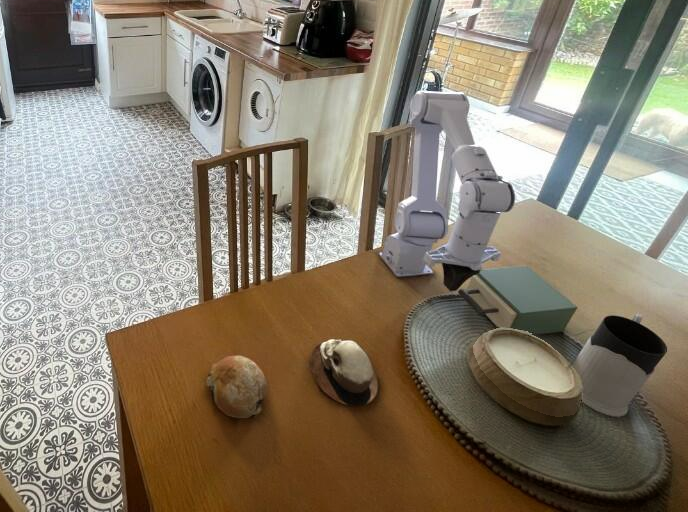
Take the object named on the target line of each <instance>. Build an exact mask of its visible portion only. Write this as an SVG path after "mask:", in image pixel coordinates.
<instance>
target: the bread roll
mask: <svg viewBox="0 0 688 512" xmlns="http://www.w3.org/2000/svg"><path fill="white" fill-rule="evenodd" d="M211 366H212V367H211V369H210V370H209V373H208V375H207V378H206V386H207V388H210V390H209V394H210V395H211V396H212V397H213V401H214V403H215V405H216V406H217V408H218V409H219V410H220V411H221V412H222V413H223V414H225V415H226V416H228V417H231V418H234V419H235V418H237V419H248V418H250V417H252V416H257V415H258V414H259V413H261V411H262V407H261V406H262V403H263V402H264V400H265V398H266V395H267V390H268V389H267V387H268V386H267V385H268V384H267V380H266V377H265V374H264V372H263V371H262V369H261V368H260V366H259V365H258V364H257V363H255V362H254V361H253V360H252V359H250V358H248V357H246V356H243V355H241V354H240V355H228V356H225V357H222V358H221V359H220V360H219V361H217V362H215V363H213V364H212V365H211Z"/></svg>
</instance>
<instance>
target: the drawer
mask: <svg viewBox="0 0 688 512" xmlns="http://www.w3.org/2000/svg"><path fill="white" fill-rule="evenodd" d="M457 293H458V294H459V296H460V297H461V298H462V299H463V300H464V301H465V302H466V303H467V304H468V305H469V306H470V307H471V308H472V309H473V310H474V311H475V313H476V314H477V315H478V316H479V317H484V316H486V317H488V319H489V320H490V321H491V322H492V323H493V324H494V325H495V327H497V328H498V327H505V328H510V327H511V325H512V323H513V321H514V319H515V317H516V315H517V312H516V311H514V310H513V309H511V308H510V307H509V306H508V305H507V304H506V303H505V302H504V301H503V300H502V299H501V298H500V297H499V296H498V295H497V294H496V293H495V292H494V291H493V290H492V289H491V288H490V287H489V285H488V284H486V283H485V282H484V281H482V280H481V279H480V278H479V277H478V276H477V275H473V276H472V277H470V279H469V282H468V285H467V287H466V289H464V288H459V289H458V291H457Z"/></svg>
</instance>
